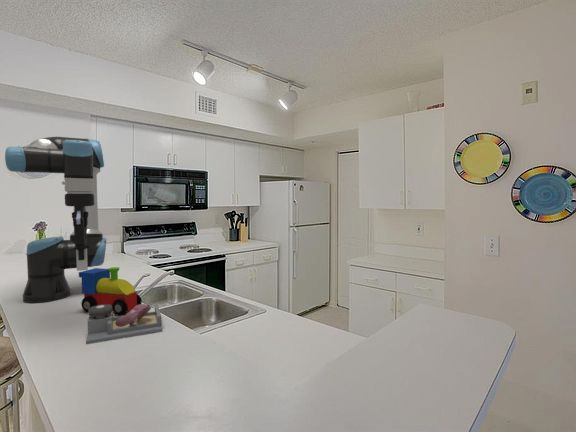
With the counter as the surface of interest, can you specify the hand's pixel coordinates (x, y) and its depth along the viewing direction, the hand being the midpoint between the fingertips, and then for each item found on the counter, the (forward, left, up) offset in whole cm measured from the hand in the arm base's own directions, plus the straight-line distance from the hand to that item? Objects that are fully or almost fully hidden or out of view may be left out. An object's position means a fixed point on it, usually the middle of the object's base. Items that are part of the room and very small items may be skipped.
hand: (82, 269), depth 101 cm
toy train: (-11, +7, -17) cm, 21 cm away
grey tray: (+9, +12, -17) cm, 22 cm away
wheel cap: (+9, +5, -15) cm, 19 cm away
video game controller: (+9, +14, -16) cm, 23 cm away
